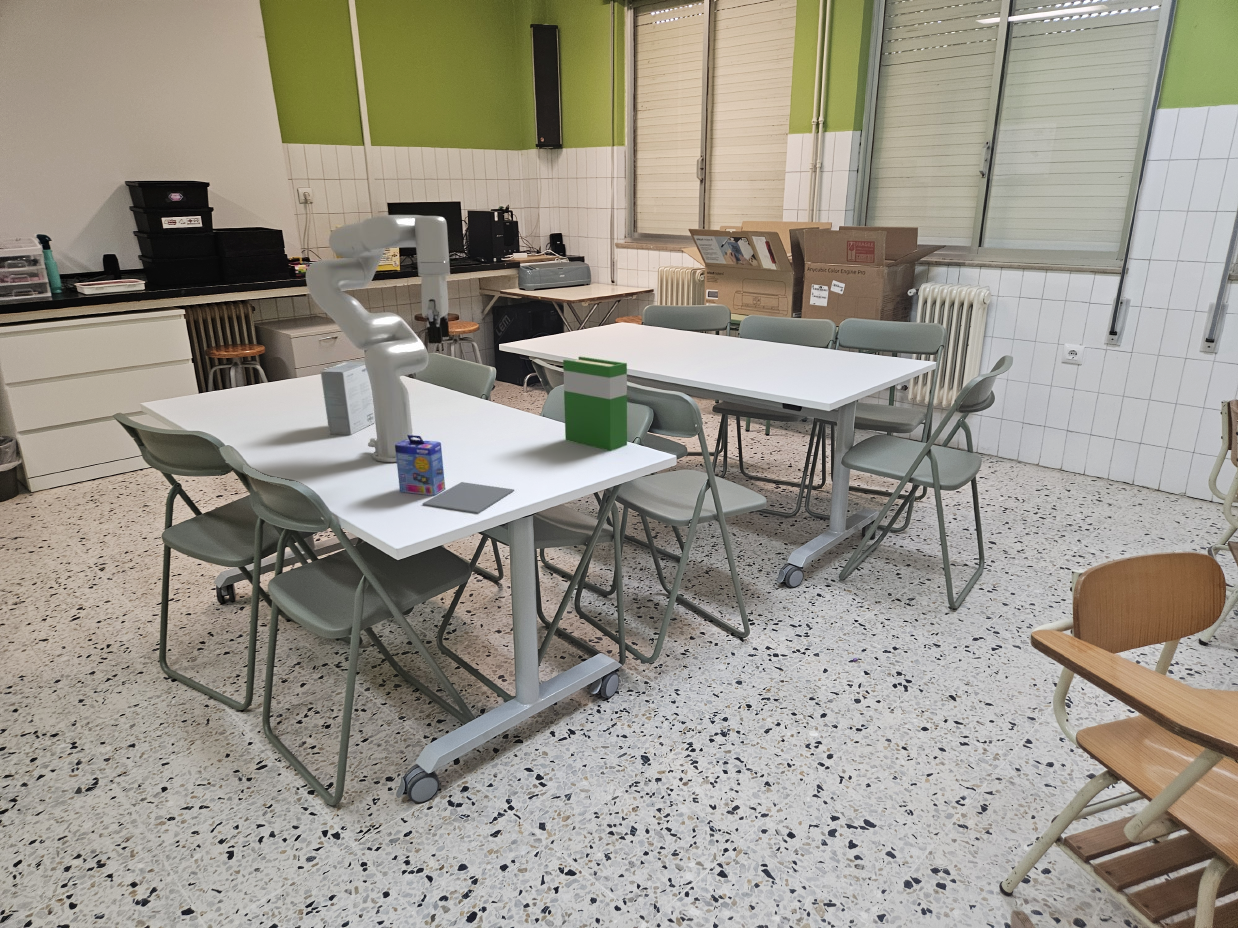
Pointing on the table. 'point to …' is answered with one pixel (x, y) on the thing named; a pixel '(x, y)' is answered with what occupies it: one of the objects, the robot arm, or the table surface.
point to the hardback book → (595, 402)
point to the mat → (468, 497)
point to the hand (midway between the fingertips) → (439, 340)
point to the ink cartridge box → (420, 466)
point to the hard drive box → (347, 398)
